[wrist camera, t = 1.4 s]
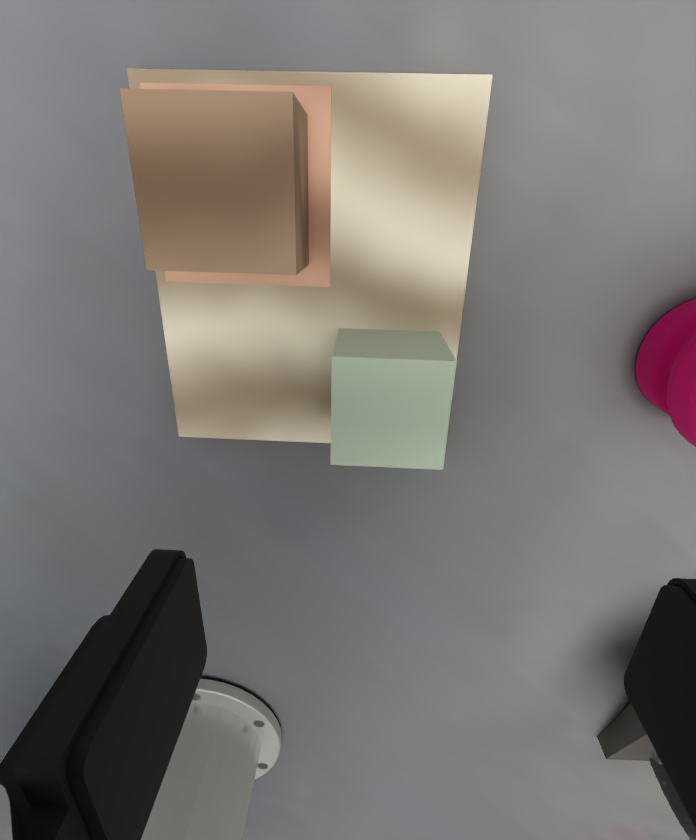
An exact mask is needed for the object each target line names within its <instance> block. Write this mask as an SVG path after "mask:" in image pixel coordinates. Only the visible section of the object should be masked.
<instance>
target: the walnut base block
mask: <svg viewBox="0 0 696 840" xmlns="http://www.w3.org/2000/svg"><path fill="white" fill-rule="evenodd" d="M120 94H121V101H122V108H123V115H124V121H125V128H126V135H127V142H128V148H129V155H130V162H131V168H132V175H133V182H134V189H135V195H136V202H137V209H138V216H139V222H140V229H141V236H142V243H143V249H144V256H145V263H146V270H155V271H186V272H218V273H249V274H280V275H297V274H298V273H299V272H301V271H302V270H303V269H304V268H305V267H307V266H308V265H309V221H308V116H307V113H306V112H305V110H304V108H303V107H302V105H301V104H300V102H299V101H298V99H297V98H296V96H295V95H294V93H293V92H273V91H220V90H168V89H120Z"/></svg>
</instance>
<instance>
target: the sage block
mask: <svg viewBox="0 0 696 840" xmlns="http://www.w3.org/2000/svg"><path fill="white" fill-rule="evenodd" d="M456 363H457V361H456V359H455V357H454V356H453V354H452V352H451V350H450V349H449V347H448V345H447V343H446V342H445V340H444V338H443V336H442V335H441V333H440V332H435V331H407V330H379V329H350V328H339V332H338V336H337V339H336V343H335V346H334V350H333V354H332V374H331V465H347V466H369V467H391V468H413V469H435V470H443V466H444V458H445V450H446V442H447V434H448V426H449V418H450V410H451V402H452V394H453V387H454V379H455V371H456Z"/></svg>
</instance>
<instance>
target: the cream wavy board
mask: <svg viewBox="0 0 696 840" xmlns="http://www.w3.org/2000/svg"><path fill="white" fill-rule="evenodd" d="M127 73H128V80H129V87H130V89H168V90H220V91H273V92H293V93H294V95H295V96H296V98H297V99H298V101H299V102H300V104H301V105H302V107H303V108H304V110H305V112H306V113H307V116H308V221H309V265H308V266H307V267H305V268H304V269H303V270H302V271H301V272H299V273H298V274H297V275H280V274H249V273H218V272H186V271H155V272H156V279H157V286H158V293H159V300H160V307H161V314H162V321H163V328H164V335H165V343H166V350H167V357H168V364H169V371H170V378H171V385H172V392H173V399H174V406H175V414H176V421H177V428H178V435H179V437H199V438H222V439H245V440H268V441H291V442H314V443H331V374H332V354H333V350H334V346H335V343H336V339H337V336H338V332H339V328H350V329H379V330H407V331H435V332H440V333H441V335H442V336H443V338H444V340H445V342H446V343H447V345H448V347H449V349H450V350H451V352H452V354H453V356H454V357H455V359H456V361H457V353H458V345H459V337H460V329H461V321H462V313H463V305H464V297H465V289H466V281H467V273H468V266H469V258H470V250H471V242H472V234H473V226H474V218H475V210H476V202H477V194H478V186H479V178H480V171H481V163H482V155H483V147H484V139H485V131H486V123H487V115H488V107H489V99H490V91H491V83H492V76H493V75H476V74H419V73H362V72H305V71H248V70H191V69H133V68H127Z"/></svg>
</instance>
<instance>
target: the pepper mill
mask: <svg viewBox="0 0 696 840" xmlns="http://www.w3.org/2000/svg"><path fill="white" fill-rule="evenodd" d="M636 379H637V383H638V386H639V388H640V390H641V392H642V393H643V395H644V396H645V397H646V399H648V400H649V401H650V402H651V403H652V404H654V405H655V406H657V407H658V408H660V409H661V410H663V411H664V412H666V413H667V414H669V415H670V417H671V420H672V422H673V424H674V426H675V427H676V429H677V430H678V431H679V433H680V434H681V435H682V436H683V437H684V438H685V439H686V440H687V441H688V442H690V443H691V444H693V445H694V446H695V447H696V298H695V299H693V300H690V301H687V302H685V303H683V304H681V305H679V306H677V307H675V308H674V309H673V310H671V311H670V312H668V313H667V314H666V315H664V316H663V317H662V318H661V319H660V320H659V321H658V322H657V323H656V324H655V325H654V326H653V327H652V328H651V330H650V331H649V333H648V334H647V336H646V337H645V339H644V341H643V342H642V344H641V346H640V349H639V352H638V356H637V360H636Z"/></svg>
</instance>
